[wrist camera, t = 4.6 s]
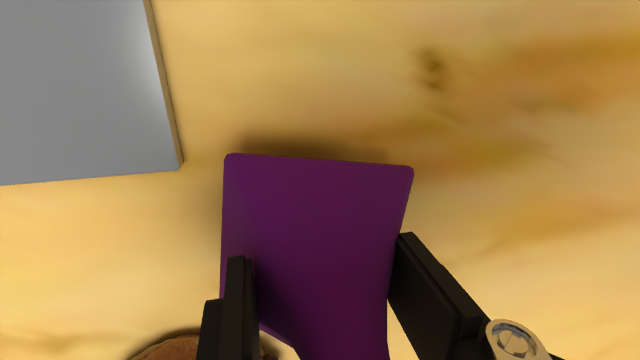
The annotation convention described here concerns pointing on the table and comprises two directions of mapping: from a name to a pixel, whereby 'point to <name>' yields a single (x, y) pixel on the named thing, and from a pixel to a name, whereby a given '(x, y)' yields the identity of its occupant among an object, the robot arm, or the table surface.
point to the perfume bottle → (316, 248)
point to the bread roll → (180, 350)
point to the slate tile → (82, 92)
